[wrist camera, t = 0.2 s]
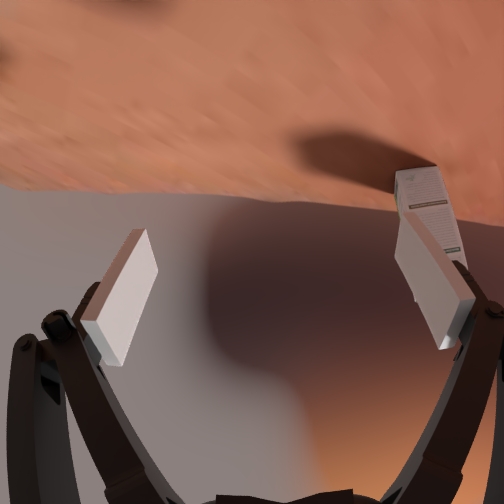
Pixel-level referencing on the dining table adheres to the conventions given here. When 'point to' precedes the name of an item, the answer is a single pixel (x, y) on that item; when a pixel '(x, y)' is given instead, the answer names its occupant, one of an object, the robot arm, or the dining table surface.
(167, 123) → the dining table surface
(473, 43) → the dining table surface
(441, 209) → the syrup box
